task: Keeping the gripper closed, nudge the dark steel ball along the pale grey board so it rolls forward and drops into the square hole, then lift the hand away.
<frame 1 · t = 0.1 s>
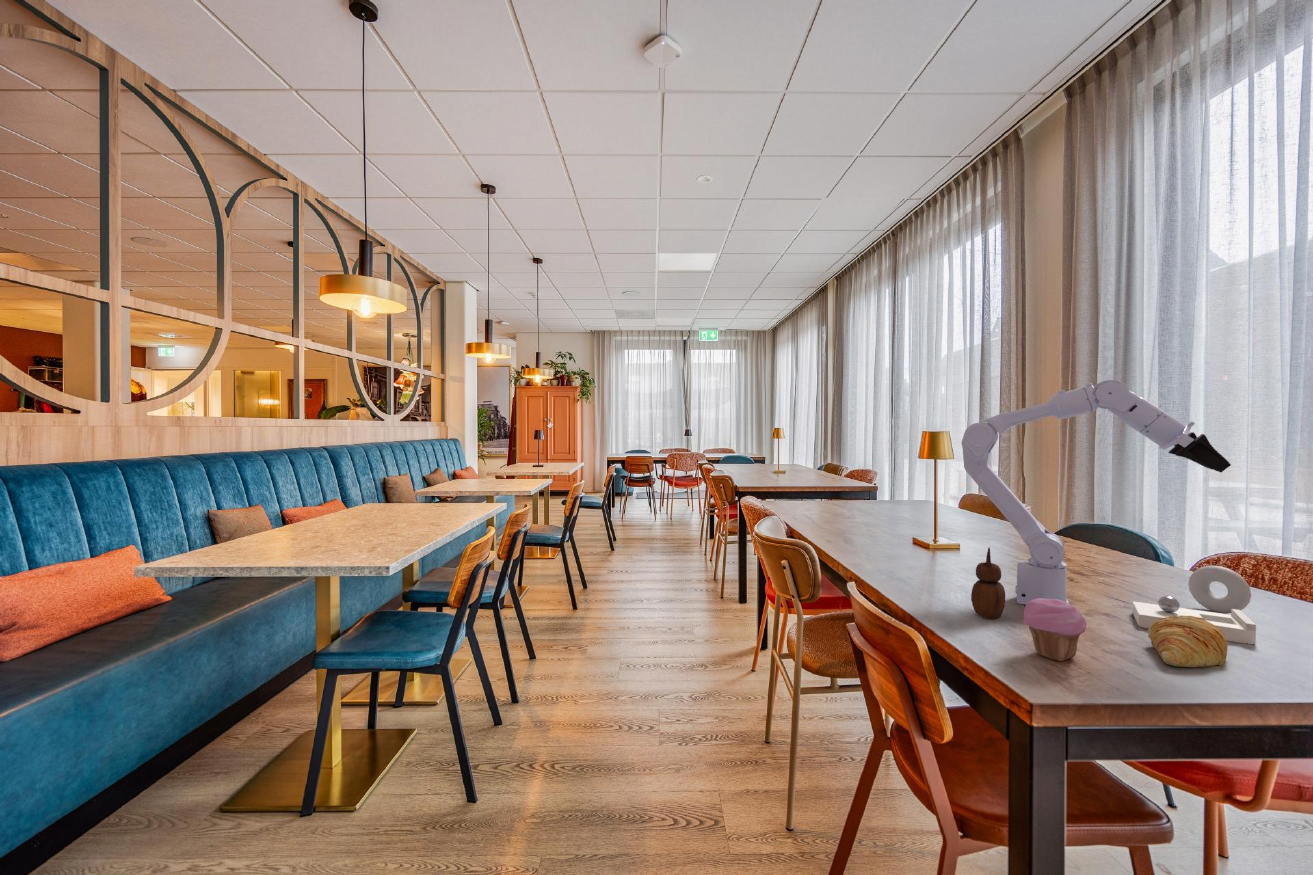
hand: (1221, 467, 106), 32 cm above the table, tool tilted 50°, fingers open, 7 cm apart
ball: (1168, 604, 110), point 4 cm above the table, touching board
board: (1189, 627, 108), on the table
wooden figurine: (988, 617, 115), on the table
croissant: (1185, 656, 96), on the table
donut: (1218, 613, 117), on the table
cupcake: (1053, 657, 95), on the table
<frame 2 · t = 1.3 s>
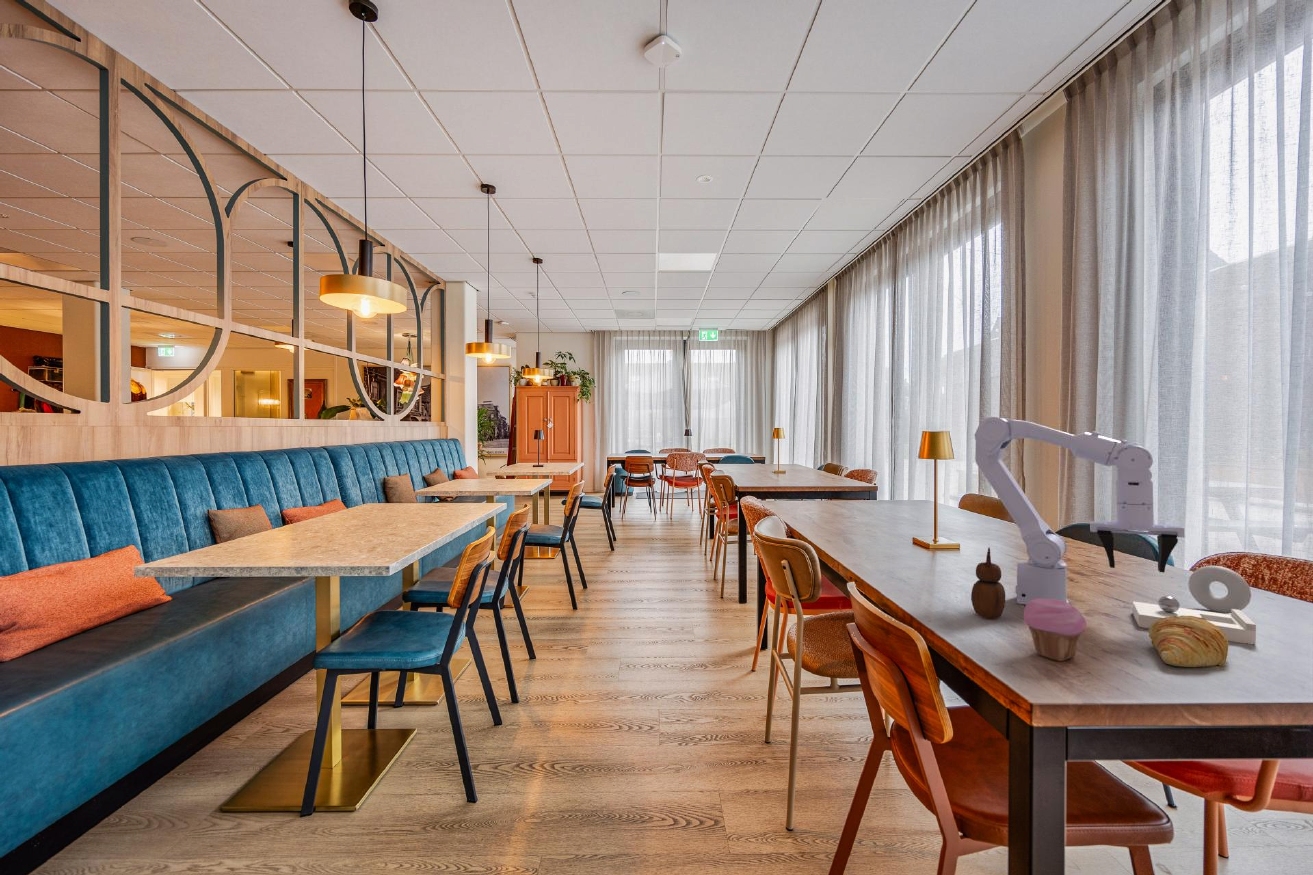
hand: (1136, 569, 112), 11 cm above the table, tool pointing down, fingers open, 7 cm apart
nothing on the table moved.
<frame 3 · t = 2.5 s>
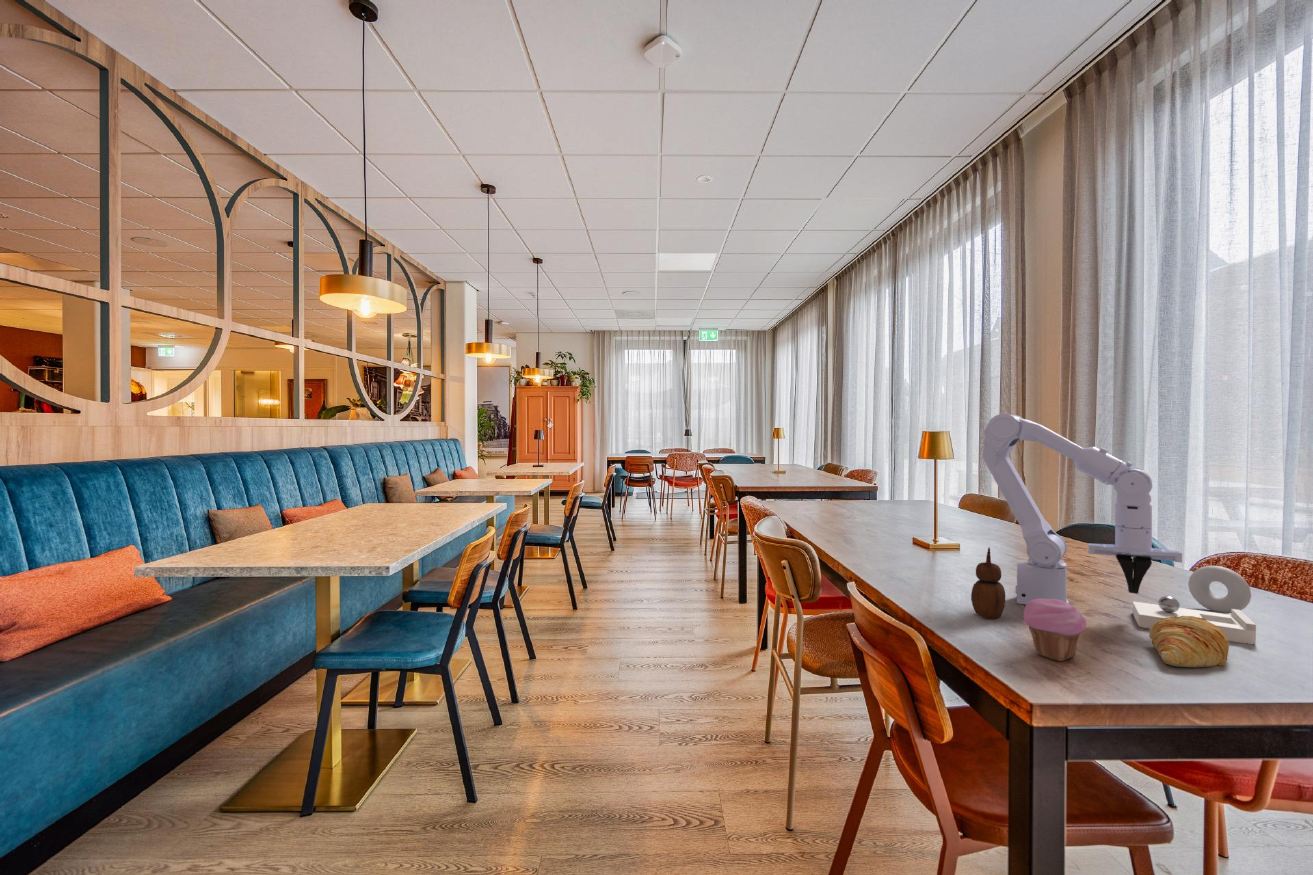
hand: (1133, 592, 113), 6 cm above the table, tool pointing down, fingers closed
nothing on the table moved.
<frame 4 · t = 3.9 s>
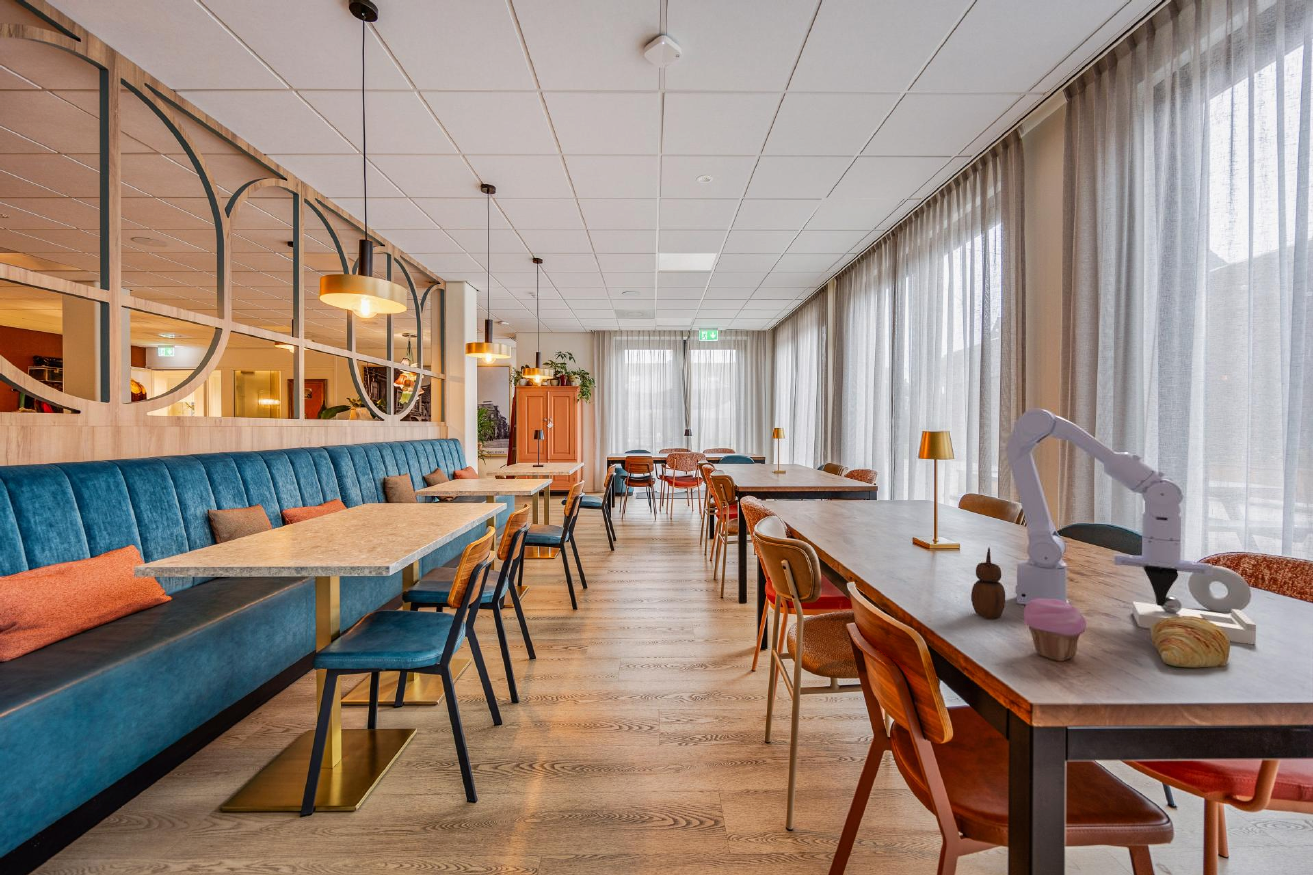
hand: (1160, 604, 110), 4 cm above the table, tool pointing down, fingers closed, pressing on ball
ball: (1170, 604, 110), point 4 cm above the table, tilted 10°, touching board, gripper
everything else where it was.
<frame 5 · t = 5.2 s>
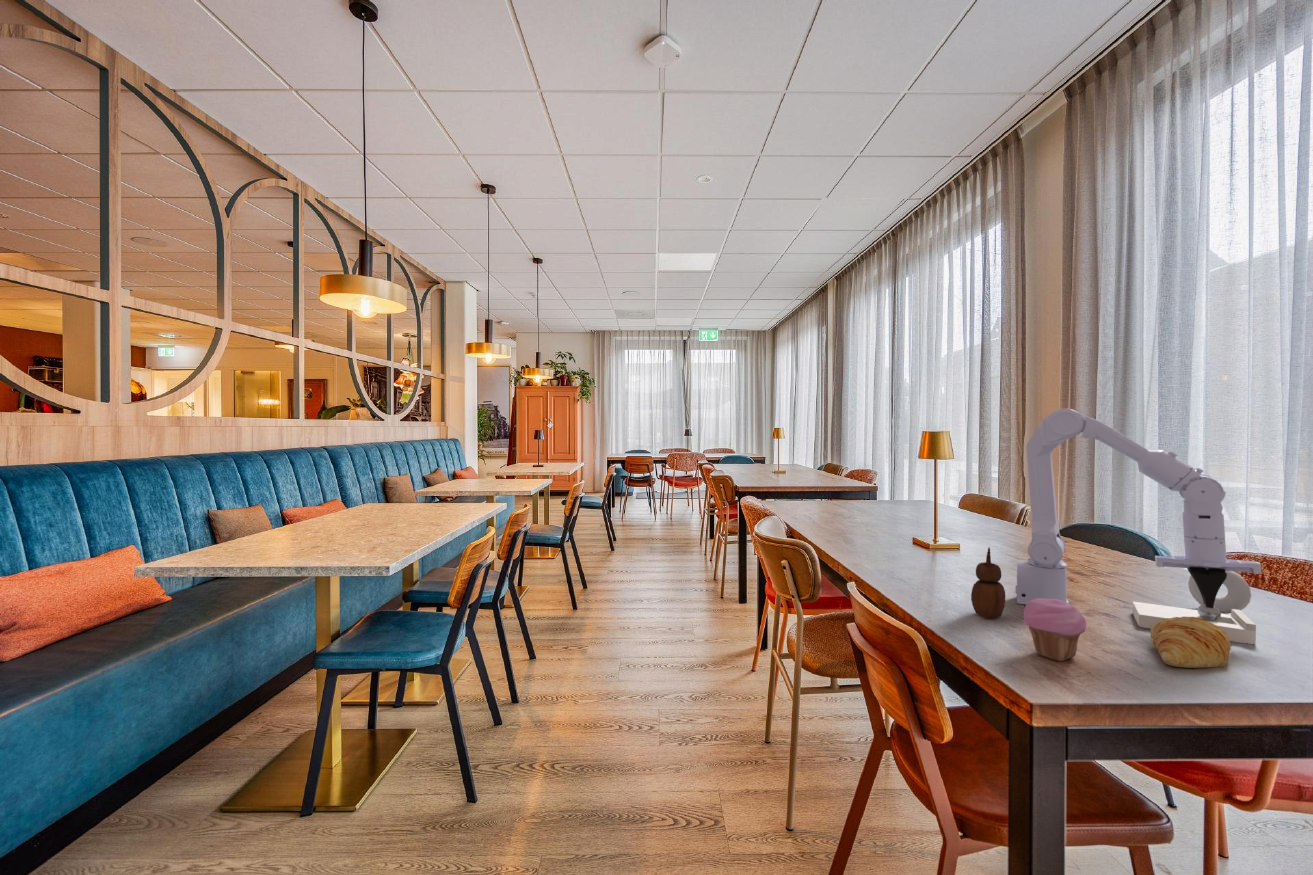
hand: (1208, 606, 106), 5 cm above the table, tool pointing down, fingers closed, pressing on ball
ball: (1209, 612, 106), point 4 cm above the table, tilted 144°, touching board, gripper
everything else where it was.
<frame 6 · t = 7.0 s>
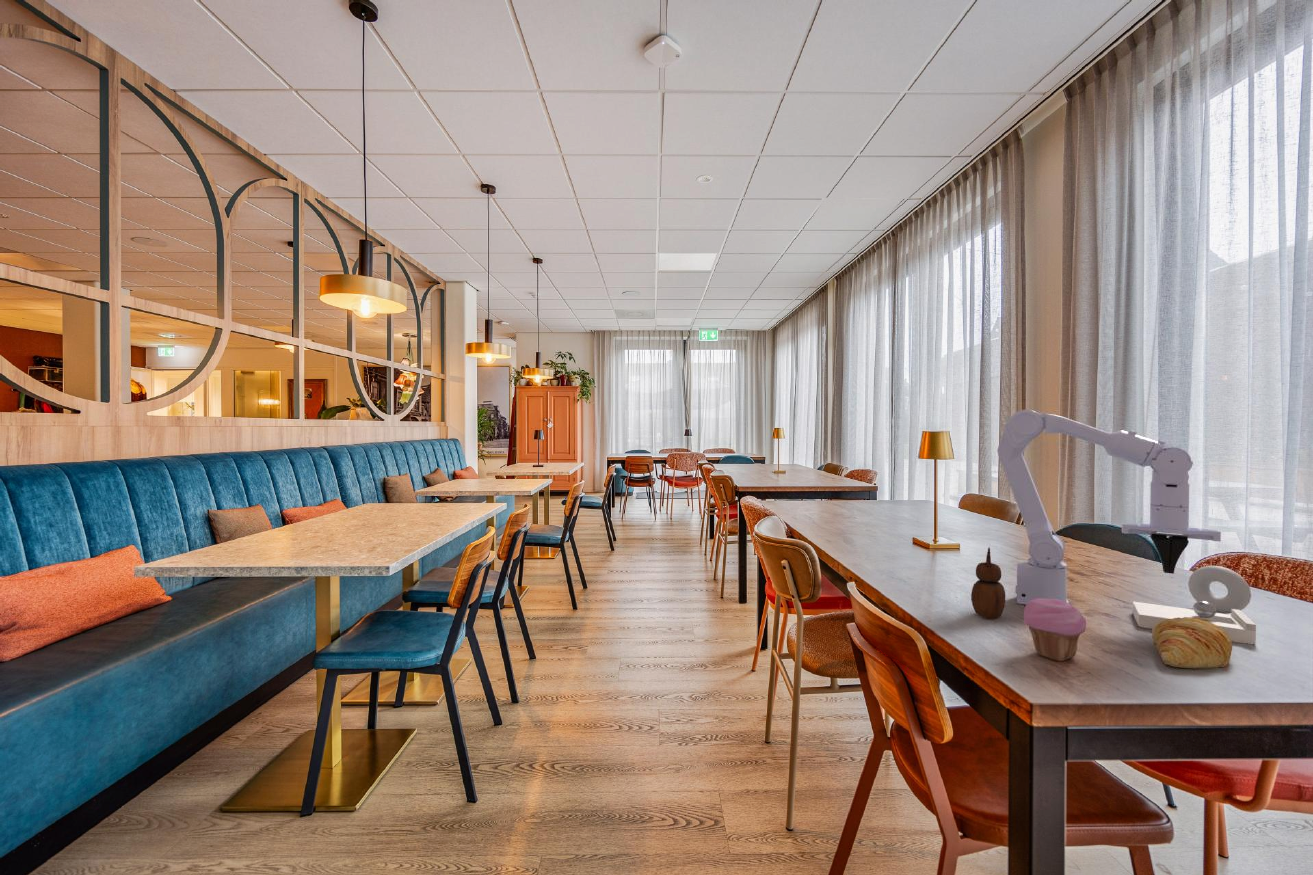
hand: (1168, 572, 111), 10 cm above the table, tool pointing down, fingers closed
ball: (1204, 609, 107), point 4 cm above the table, tilted 173°, touching board
everything else where it was.
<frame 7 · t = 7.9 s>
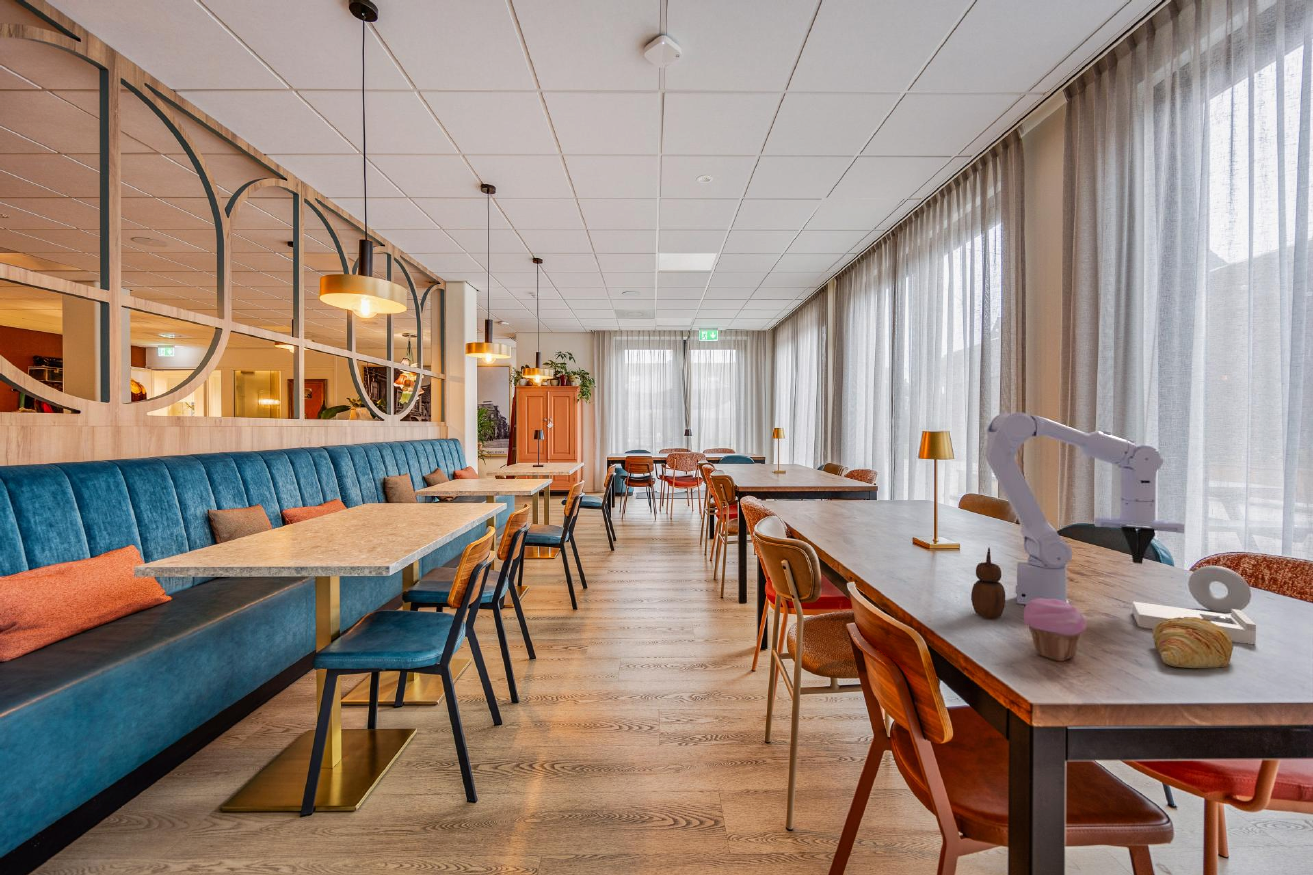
hand: (1137, 562, 118), 10 cm above the table, tool pointing down, fingers closed
ball: (1222, 624, 105), point 2 cm above the table, tilted 47°
everything else where it was.
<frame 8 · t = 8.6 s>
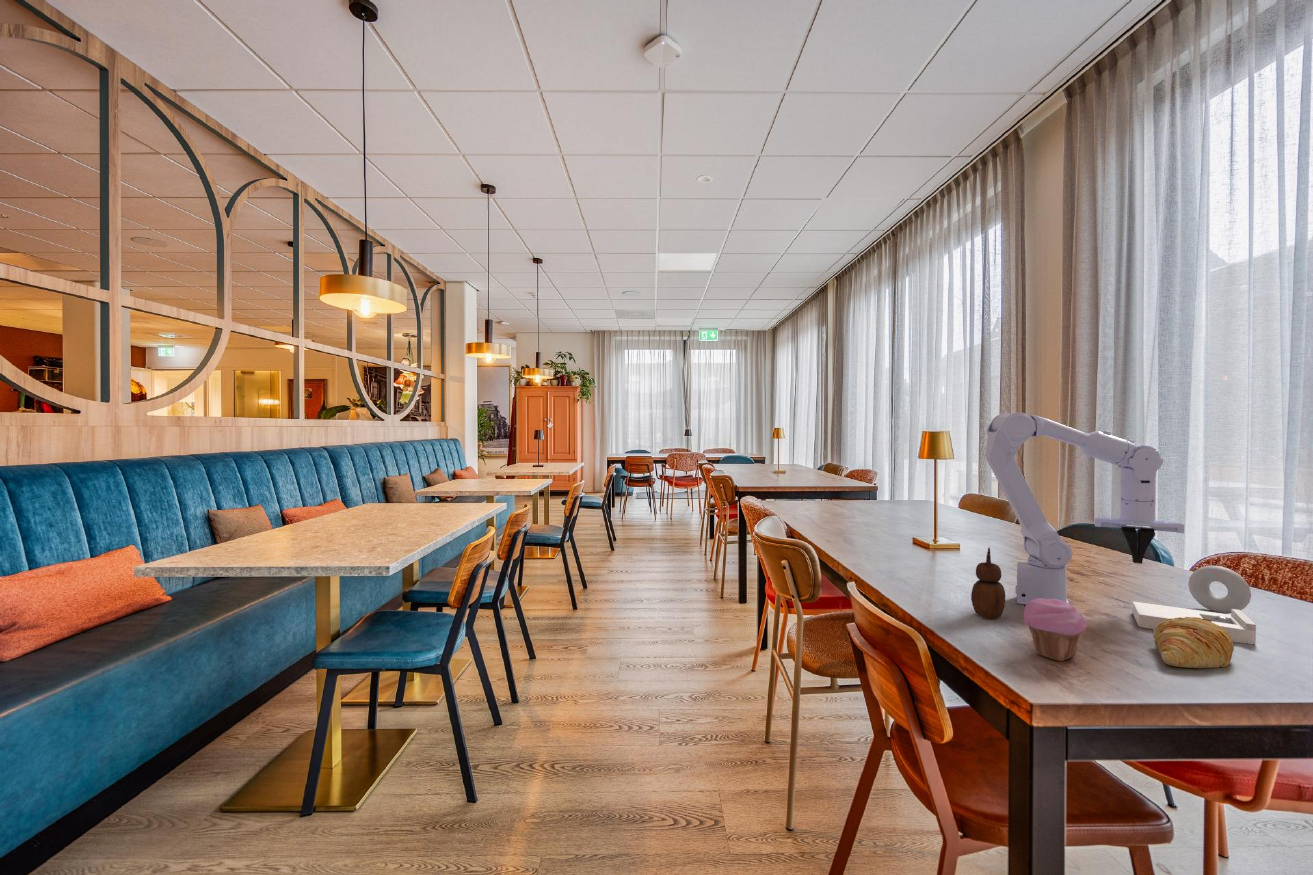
hand: (1137, 562, 118), 10 cm above the table, tool pointing down, fingers closed
nothing on the table moved.
at the end: ball 0.6 cm from the target spot on the board, point 1.6 cm above the board's base; ball point 1.6 cm above the table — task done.
